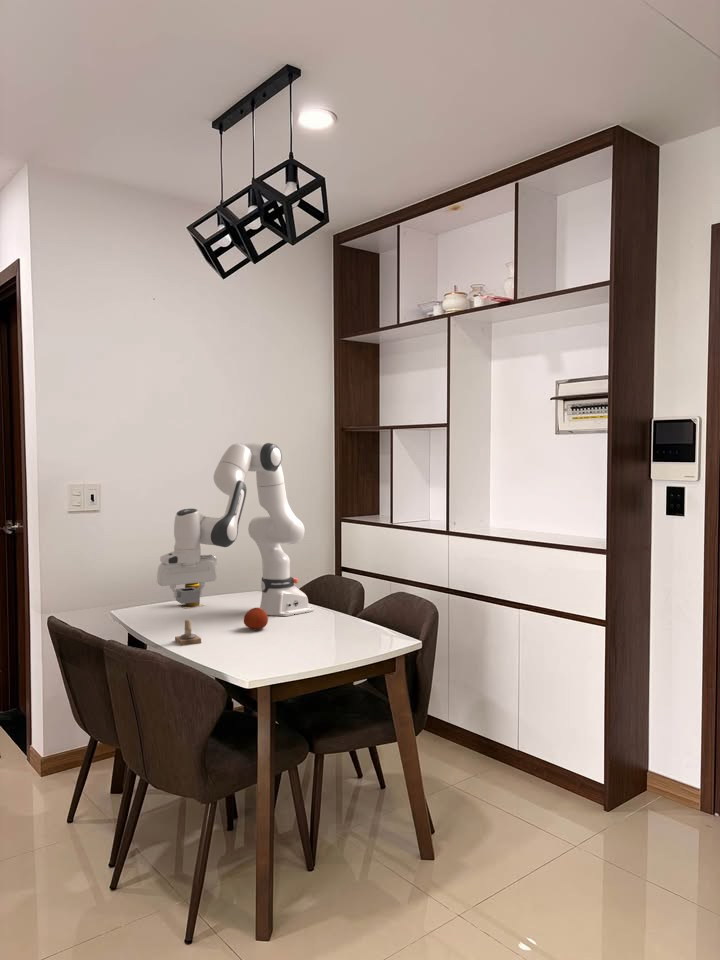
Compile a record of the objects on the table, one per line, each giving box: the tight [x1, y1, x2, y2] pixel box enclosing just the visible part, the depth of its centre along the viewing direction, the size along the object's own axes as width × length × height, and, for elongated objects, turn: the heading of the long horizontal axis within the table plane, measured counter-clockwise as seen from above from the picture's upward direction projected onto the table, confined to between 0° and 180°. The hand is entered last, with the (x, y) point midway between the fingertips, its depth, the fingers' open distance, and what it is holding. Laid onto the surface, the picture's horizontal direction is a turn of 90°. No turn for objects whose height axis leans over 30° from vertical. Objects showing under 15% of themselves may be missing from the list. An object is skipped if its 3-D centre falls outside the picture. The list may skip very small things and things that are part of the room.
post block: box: [174, 619, 202, 647], centre depth 254 cm, size 7×7×8 cm
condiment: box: [177, 583, 204, 609], centre depth 310 cm, size 7×8×12 cm
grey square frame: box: [175, 587, 201, 605], centre depth 253 cm, size 6×6×4 cm
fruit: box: [243, 607, 269, 630], centre depth 272 cm, size 9×9×8 cm
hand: (187, 596), depth 253 cm, fingers closed on grey square frame, 6 cm apart
